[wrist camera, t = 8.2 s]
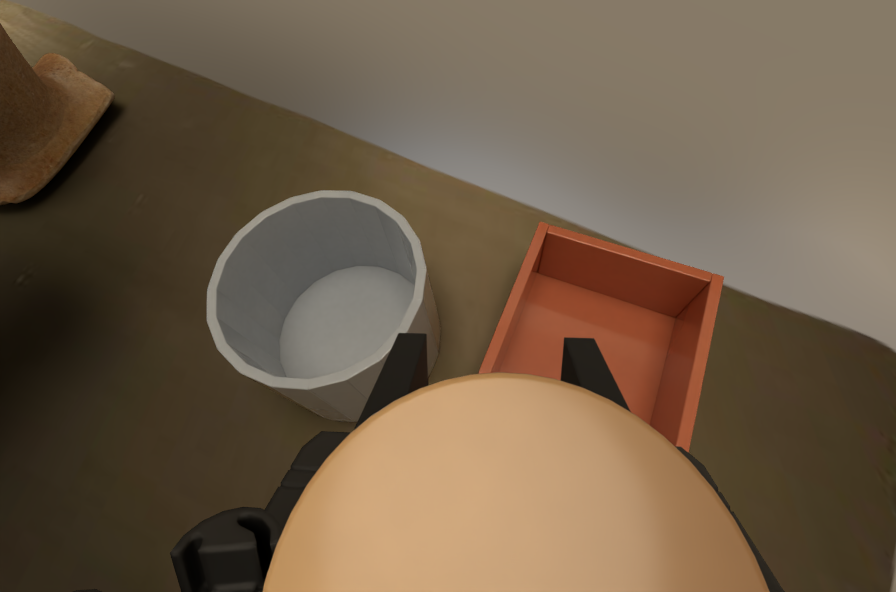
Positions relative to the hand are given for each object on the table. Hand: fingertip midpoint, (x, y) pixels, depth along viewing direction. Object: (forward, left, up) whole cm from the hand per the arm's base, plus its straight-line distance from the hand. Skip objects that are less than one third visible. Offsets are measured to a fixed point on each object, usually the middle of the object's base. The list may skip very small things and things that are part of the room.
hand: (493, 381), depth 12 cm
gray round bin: (-11, +3, -16) cm, 19 cm away
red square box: (+3, +7, -16) cm, 18 cm away
